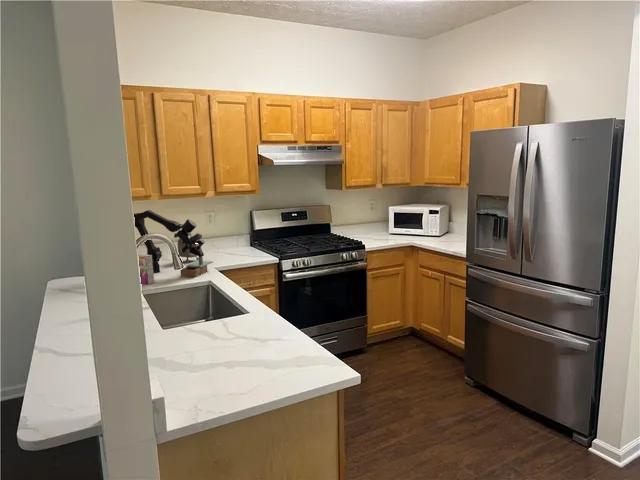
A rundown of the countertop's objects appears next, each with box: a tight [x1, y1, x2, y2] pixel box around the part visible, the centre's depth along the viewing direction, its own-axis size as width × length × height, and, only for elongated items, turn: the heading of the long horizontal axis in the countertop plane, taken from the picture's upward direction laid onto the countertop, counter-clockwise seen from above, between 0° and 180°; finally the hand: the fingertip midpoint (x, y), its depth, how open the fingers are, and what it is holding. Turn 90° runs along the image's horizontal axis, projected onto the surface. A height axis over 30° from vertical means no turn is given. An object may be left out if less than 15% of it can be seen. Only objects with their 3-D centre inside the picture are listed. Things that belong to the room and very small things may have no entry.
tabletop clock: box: [177, 232, 201, 264], centre depth 305 cm, size 14×9×25 cm, turn 158°
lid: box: [185, 248, 214, 267], centre depth 273 cm, size 14×10×10 cm
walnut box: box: [179, 265, 208, 278], centre depth 267 cm, size 14×10×4 cm
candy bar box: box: [137, 253, 155, 285], centre depth 249 cm, size 11×5×16 cm, turn 65°
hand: (202, 256), depth 268 cm, fingers closed on lid, 2 cm apart
